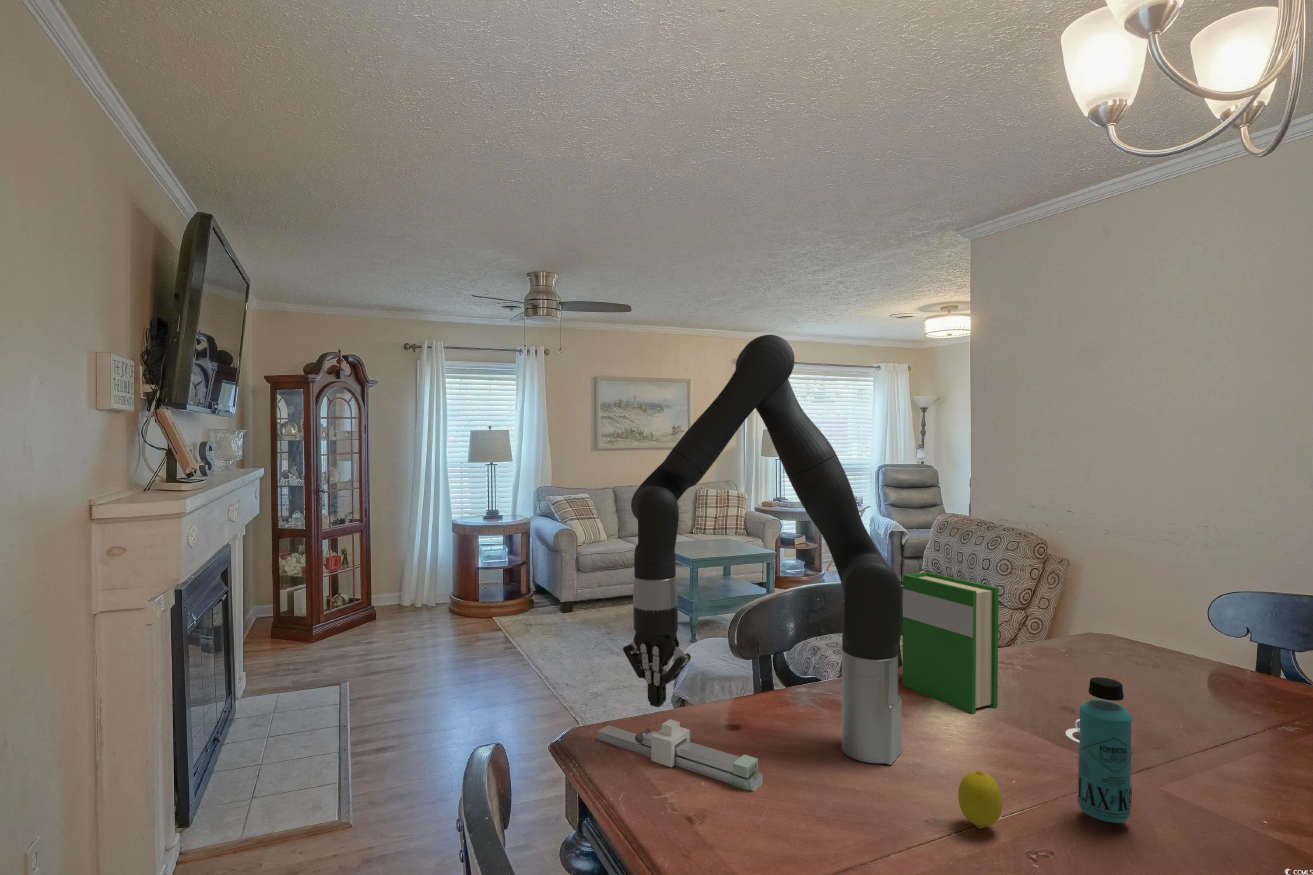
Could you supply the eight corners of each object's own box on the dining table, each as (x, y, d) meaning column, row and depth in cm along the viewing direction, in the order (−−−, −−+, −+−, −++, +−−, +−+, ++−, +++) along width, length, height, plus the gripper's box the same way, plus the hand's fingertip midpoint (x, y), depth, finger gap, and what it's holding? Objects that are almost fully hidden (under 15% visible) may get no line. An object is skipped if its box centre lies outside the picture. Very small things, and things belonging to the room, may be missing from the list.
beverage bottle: (1066, 809, 101) (1067, 672, 101) (1109, 807, 102) (1110, 671, 102) (1098, 835, 95) (1099, 689, 95) (1144, 833, 95) (1145, 687, 95)
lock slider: (651, 760, 116) (651, 725, 115) (670, 748, 120) (670, 714, 120) (671, 767, 113) (671, 731, 113) (689, 754, 118) (689, 720, 118)
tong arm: (641, 744, 118) (641, 734, 118) (654, 736, 121) (654, 727, 121) (747, 777, 106) (747, 767, 106) (757, 768, 109) (757, 758, 109)
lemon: (1007, 841, 93) (1007, 782, 93) (963, 836, 94) (963, 777, 94) (995, 819, 99) (996, 763, 99) (954, 814, 100) (954, 759, 100)
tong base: (596, 739, 124) (596, 722, 124) (609, 732, 127) (609, 715, 127) (752, 792, 106) (753, 771, 106) (763, 782, 109) (763, 762, 109)
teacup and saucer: (1118, 736, 127) (1119, 714, 127) (1126, 754, 120) (1126, 731, 120) (1063, 727, 131) (1063, 706, 131) (1067, 744, 124) (1067, 721, 123)
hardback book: (997, 707, 139) (998, 587, 139) (972, 714, 136) (973, 591, 136) (926, 679, 155) (927, 571, 155) (902, 685, 151) (903, 574, 151)
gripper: (700, 603, 117) (701, 705, 117) (637, 593, 125) (638, 690, 125) (676, 612, 111) (677, 721, 111) (611, 602, 119) (612, 704, 119)
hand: (656, 704), depth 118 cm, fingers closed
